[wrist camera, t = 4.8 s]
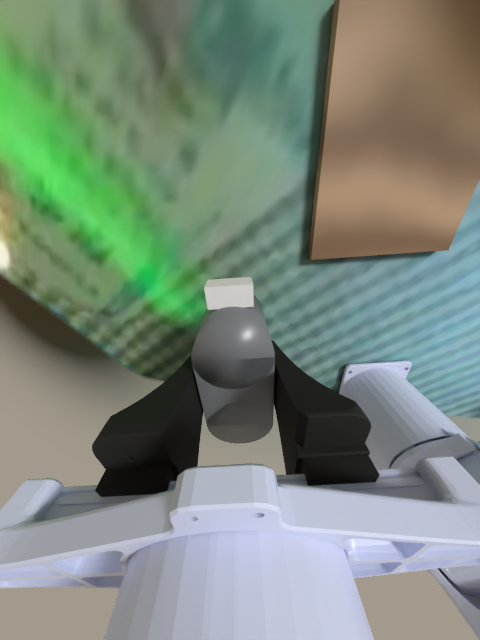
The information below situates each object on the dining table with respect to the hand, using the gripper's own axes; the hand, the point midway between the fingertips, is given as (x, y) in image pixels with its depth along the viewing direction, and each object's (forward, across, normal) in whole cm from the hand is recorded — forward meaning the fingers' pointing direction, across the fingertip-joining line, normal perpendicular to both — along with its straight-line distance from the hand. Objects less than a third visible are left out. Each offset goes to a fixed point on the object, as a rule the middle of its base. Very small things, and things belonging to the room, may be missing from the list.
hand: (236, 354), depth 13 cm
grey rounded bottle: (+1, 0, 0) cm, 1 cm away
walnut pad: (+7, -13, -12) cm, 19 cm away
